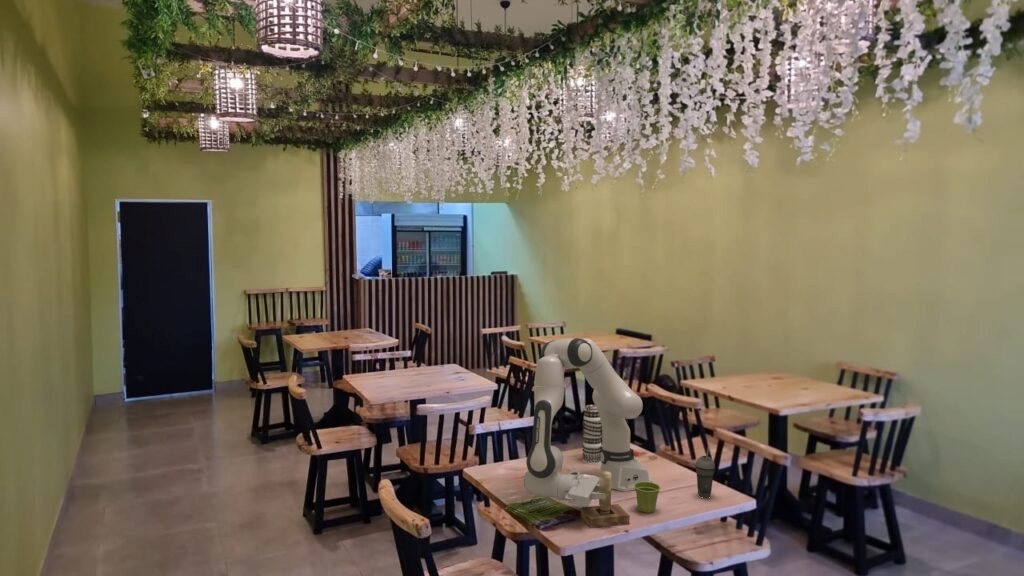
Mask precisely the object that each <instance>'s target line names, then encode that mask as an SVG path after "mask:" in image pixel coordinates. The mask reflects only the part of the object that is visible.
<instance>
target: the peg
mask: <svg viewBox="0 0 1024 576" xmlns="http://www.w3.org/2000/svg"><path fill="white" fill-rule="evenodd" d="M599 474H600V482H599V492H598V493H601V492H604V493H606V494H607V495H606V499H598V506H600V515H608V514H609V511H610V505H612V489H611V472H608V471H602V472H600V471H599Z"/></svg>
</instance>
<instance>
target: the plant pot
mask: <svg viewBox="0 0 1024 576" xmlns="http://www.w3.org/2000/svg"><path fill="white" fill-rule="evenodd" d="M634 488H635V490H634V491H635V494H636V502H637V509H638V511H640V512H644V513H646V514H650V513H654V512H655V511H656V508H657V502H658V501H657V500H658V496H659V493H660V490H661V486H660V485H659V484H657V483H656V482H654V483H652V482H638V483H635V484H634Z"/></svg>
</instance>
